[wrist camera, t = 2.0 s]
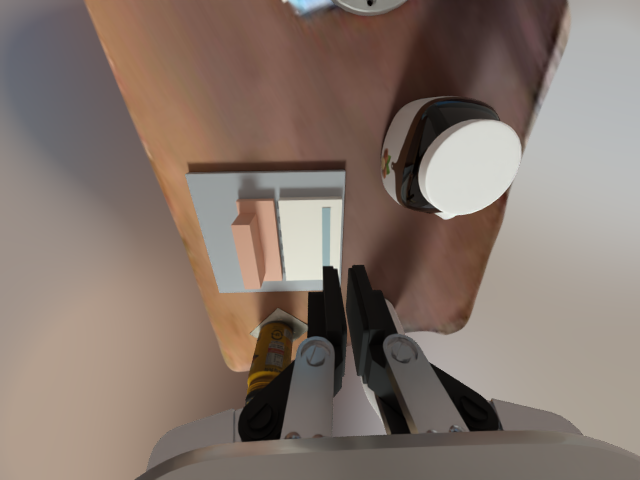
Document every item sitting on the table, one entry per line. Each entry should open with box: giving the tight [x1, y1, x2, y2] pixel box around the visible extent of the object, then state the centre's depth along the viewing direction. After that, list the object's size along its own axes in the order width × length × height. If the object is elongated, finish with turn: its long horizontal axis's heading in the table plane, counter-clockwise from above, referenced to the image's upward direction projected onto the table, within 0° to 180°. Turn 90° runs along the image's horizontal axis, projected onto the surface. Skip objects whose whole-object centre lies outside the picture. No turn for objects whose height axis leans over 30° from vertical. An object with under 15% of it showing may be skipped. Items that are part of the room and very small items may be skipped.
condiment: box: [245, 308, 308, 405], centre depth 36 cm, size 7×8×12 cm
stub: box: [231, 198, 283, 289], centre depth 29 cm, size 12×4×4 cm, turn 1°
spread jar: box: [381, 96, 521, 219], centre depth 22 cm, size 12×11×12 cm
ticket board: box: [185, 170, 345, 293], centre depth 31 cm, size 18×19×2 cm
